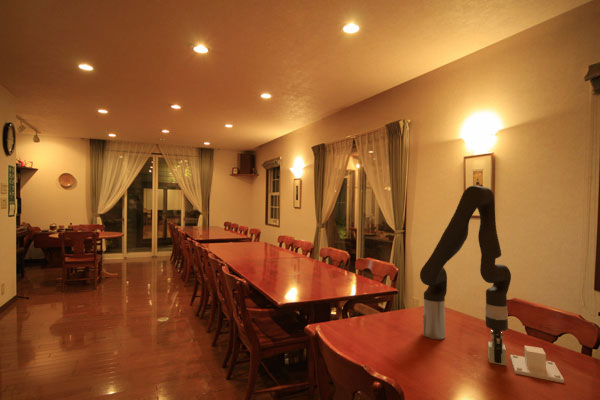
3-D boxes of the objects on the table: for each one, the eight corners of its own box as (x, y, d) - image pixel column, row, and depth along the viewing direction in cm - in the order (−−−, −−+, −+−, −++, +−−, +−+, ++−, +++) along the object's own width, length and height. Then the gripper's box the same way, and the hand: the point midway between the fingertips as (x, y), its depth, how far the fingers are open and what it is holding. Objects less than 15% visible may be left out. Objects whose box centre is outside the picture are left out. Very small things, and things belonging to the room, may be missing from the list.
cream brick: (527, 367, 118) (527, 351, 118) (524, 361, 123) (524, 345, 123) (546, 371, 115) (545, 354, 115) (542, 364, 120) (542, 348, 120)
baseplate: (515, 373, 116) (515, 368, 116) (510, 357, 128) (510, 353, 128) (564, 383, 109) (563, 378, 109) (554, 365, 122) (553, 361, 122)
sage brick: (489, 362, 124) (489, 346, 124) (488, 356, 129) (488, 341, 129) (506, 365, 121) (506, 349, 122) (504, 359, 126) (504, 344, 127)
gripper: (484, 309, 134) (485, 350, 133) (486, 319, 121) (487, 364, 120) (505, 311, 130) (506, 353, 130) (509, 323, 118) (510, 369, 117)
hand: (497, 358), depth 125 cm, fingers closed on sage brick, 5 cm apart
